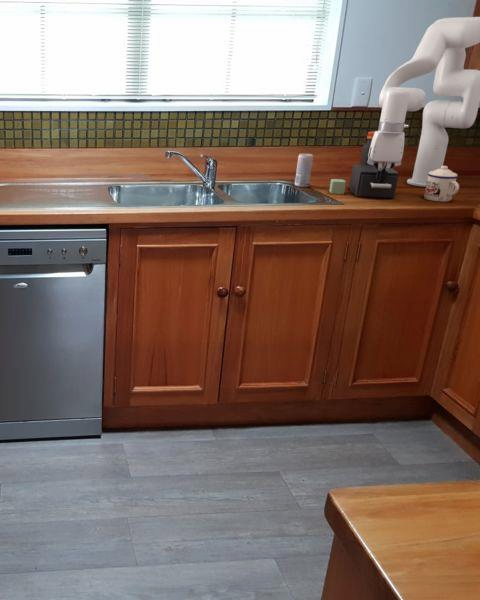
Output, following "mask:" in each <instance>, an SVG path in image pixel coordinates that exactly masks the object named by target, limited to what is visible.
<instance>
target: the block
mask: <svg viewBox="0 0 480 600" xmlns="http://www.w3.org/2000/svg"><path fill="white" fill-rule="evenodd" d="M346 185H347V181H346V180H345V179H340V178H339V179H337V178H331V179H330V184H329V190H328V191H329V193H330V194H332V195H333V194H335V195H344V194H345V190H346Z"/></svg>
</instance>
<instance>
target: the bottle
mask: <svg viewBox="0 0 480 600" xmlns="http://www.w3.org/2000/svg"><path fill="white" fill-rule="evenodd" d="M374 133H375V131H368V132H367V135H366V141H367V142H365V143H364V144H363V145H362V150H361V153H360V161H359V165H370V164H368V163H367V161H368V159H369V158H368V154H369V149H370V146H371V142H372V139H373V136H374ZM374 162H375V161H374ZM376 163H377V162H376Z"/></svg>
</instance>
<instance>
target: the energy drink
mask: <svg viewBox="0 0 480 600" xmlns="http://www.w3.org/2000/svg"><path fill="white" fill-rule="evenodd" d="M313 161H314V154H311V153H298V156H297V166H296V171H295V178H294V186H295V187H297V188H308V187H309V186H310V181H311V175H312V168H313V163H314V162H313Z"/></svg>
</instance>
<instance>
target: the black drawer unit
mask: <svg viewBox="0 0 480 600" xmlns="http://www.w3.org/2000/svg"><path fill="white" fill-rule="evenodd" d="M397 178H398V179H399V175H398V176H393V175H387V177H386V180H384V183H382V182H380V183H379V182H377V180H376V175H375V174H362V179H361V185H360V190H359V196H379V197H394V198H395V195H394V193H395V194H396V190H395V188H396V189H397V185H396V183H397V184H398V181H397Z"/></svg>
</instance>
